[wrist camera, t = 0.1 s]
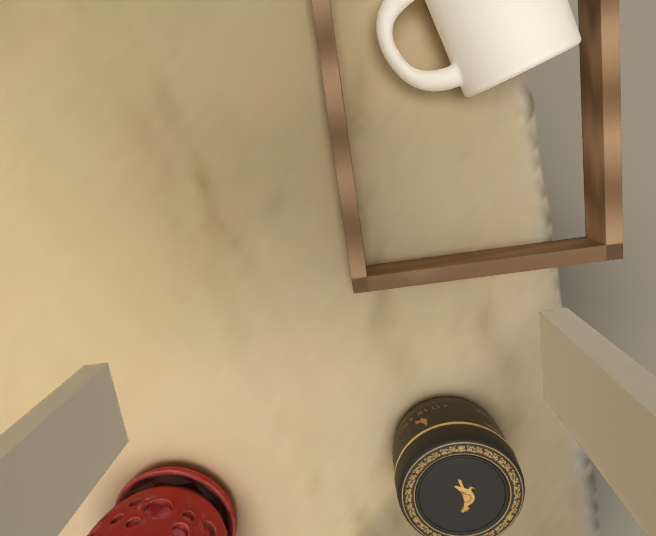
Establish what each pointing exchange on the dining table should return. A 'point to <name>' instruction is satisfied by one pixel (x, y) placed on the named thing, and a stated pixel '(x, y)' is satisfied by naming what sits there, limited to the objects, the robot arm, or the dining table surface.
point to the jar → (455, 471)
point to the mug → (483, 40)
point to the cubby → (598, 245)
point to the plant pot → (169, 506)
